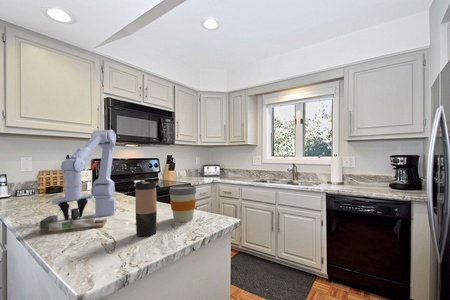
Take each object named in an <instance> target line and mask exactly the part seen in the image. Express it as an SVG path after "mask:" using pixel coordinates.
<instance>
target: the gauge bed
mask: <svg viewBox="0 0 450 300" xmlns="http://www.w3.org/2000/svg"><path fill="white" fill-rule="evenodd" d="M58 217H59V215H58V214H55V215H48V216H46V217H45V218H42V219H41V220H40V222H39V235H46V234H48V235H49V234H54V233H55V234H56V233H64V232H72V231H81V230H89V229H98V228H104V226H105V225H106V223H107V221H108V219H107V218H104V219H102V218H101V219H96V217H92V218H86V219H85V218H83V219H82V220H73V221H72V224H70V221H69V220H64V221H59V219H58Z"/></svg>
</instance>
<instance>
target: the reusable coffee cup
mask: <svg viewBox="0 0 450 300" xmlns="http://www.w3.org/2000/svg"><path fill="white" fill-rule="evenodd" d="M196 187H197V186H196V185H190V184H182V185H181V184H179V185H174V186H170V187H169V192H168V193H169V196H170V199H169V202H170V209H171V211H172V217H173V221H174V222H176V223H186V222H190V221H192V220H193V219H194V213H195V208H196V201H197V198H196V193H197V188H196Z"/></svg>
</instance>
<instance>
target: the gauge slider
mask: <svg viewBox="0 0 450 300" xmlns="http://www.w3.org/2000/svg"><path fill="white" fill-rule="evenodd" d="M82 219H84V217H83V216H82V217H80V208H78V207H77V208H72V209H70V220H68V221H70V224H72V221H73V220H82Z"/></svg>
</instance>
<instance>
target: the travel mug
mask: <svg viewBox="0 0 450 300" xmlns="http://www.w3.org/2000/svg"><path fill="white" fill-rule="evenodd" d="M134 188H135V194H134V196H135V198H134V199H135V226H136V228H135V229H136V230H135V231H136V236H137V237H138V238H150V237H152V236H155V235H156V234H157V220H158V219H157V213H158V212H157V210H158V209H157V181H156V180H142V181H136V182H135V187H134Z"/></svg>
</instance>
